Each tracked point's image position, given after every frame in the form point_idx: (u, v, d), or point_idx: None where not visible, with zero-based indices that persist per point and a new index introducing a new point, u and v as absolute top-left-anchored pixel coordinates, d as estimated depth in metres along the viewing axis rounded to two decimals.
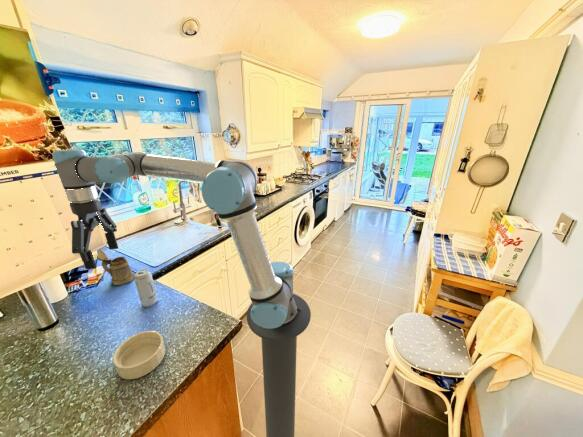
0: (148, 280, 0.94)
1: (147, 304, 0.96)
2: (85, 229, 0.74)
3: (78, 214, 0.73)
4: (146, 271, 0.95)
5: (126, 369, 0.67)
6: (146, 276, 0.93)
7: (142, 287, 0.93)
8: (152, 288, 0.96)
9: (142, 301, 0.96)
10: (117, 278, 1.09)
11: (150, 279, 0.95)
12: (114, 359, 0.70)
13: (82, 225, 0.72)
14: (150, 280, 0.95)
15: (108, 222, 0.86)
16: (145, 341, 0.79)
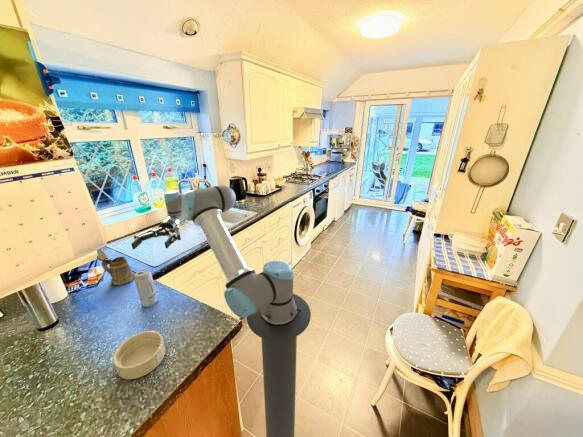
0: (148, 280, 0.94)
1: (147, 304, 0.96)
2: None
3: None
4: (146, 271, 0.95)
5: (126, 369, 0.67)
6: (146, 276, 0.93)
7: (142, 287, 0.93)
8: (152, 288, 0.96)
9: (142, 301, 0.96)
10: (117, 278, 1.09)
11: (150, 279, 0.95)
12: (114, 359, 0.70)
13: (150, 229, 1.13)
14: (150, 280, 0.95)
15: (176, 234, 1.10)
16: (145, 341, 0.79)
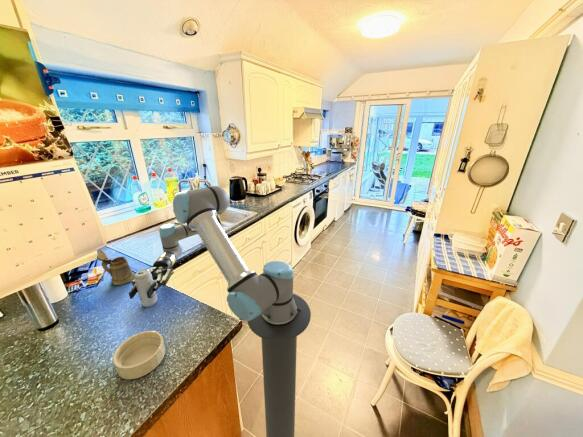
0: (148, 280, 0.94)
1: (147, 304, 0.96)
2: None
3: None
4: (146, 271, 0.95)
5: (126, 369, 0.67)
6: (146, 276, 0.93)
7: (142, 287, 0.93)
8: None
9: (142, 301, 0.96)
10: (117, 278, 1.09)
11: (150, 279, 0.95)
12: (114, 359, 0.70)
13: None
14: (150, 280, 0.95)
15: None
16: (145, 341, 0.79)
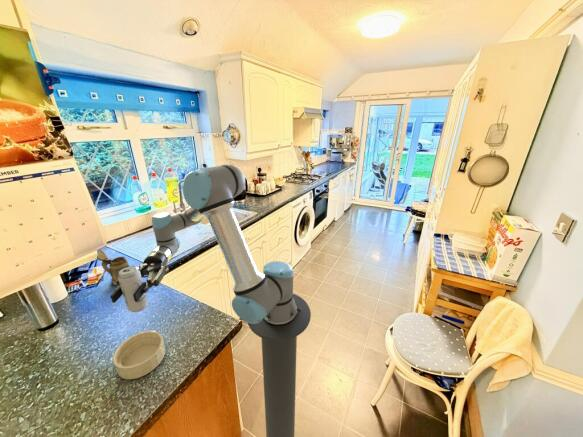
0: (135, 279, 0.75)
1: (135, 309, 0.78)
2: None
3: None
4: (133, 268, 0.76)
5: (126, 369, 0.67)
6: (133, 274, 0.74)
7: (128, 289, 0.74)
8: None
9: (128, 305, 0.77)
10: (117, 278, 1.09)
11: (138, 278, 0.76)
12: (114, 359, 0.70)
13: None
14: (138, 279, 0.76)
15: None
16: (145, 341, 0.79)
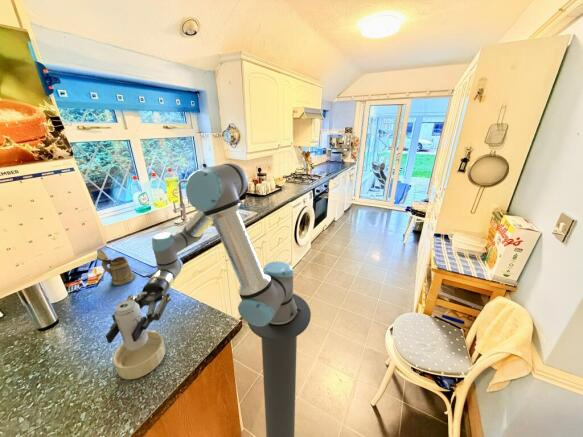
0: (134, 316, 0.67)
1: (133, 348, 0.69)
2: None
3: None
4: (132, 302, 0.68)
5: (126, 369, 0.67)
6: (131, 310, 0.66)
7: (126, 326, 0.66)
8: None
9: (126, 344, 0.69)
10: (117, 278, 1.09)
11: (137, 314, 0.68)
12: (114, 359, 0.70)
13: (130, 297, 0.78)
14: (137, 315, 0.68)
15: None
16: None
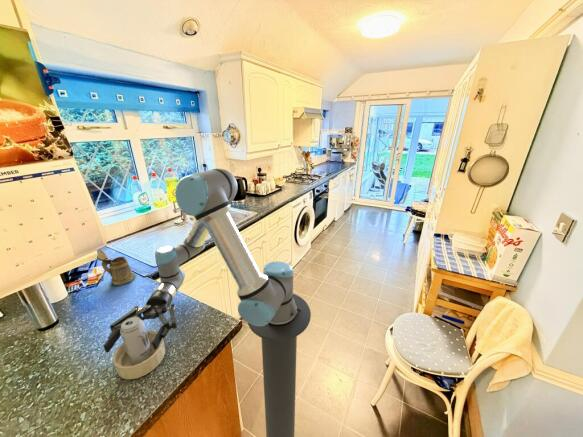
0: (139, 332, 0.69)
1: (138, 363, 0.72)
2: None
3: None
4: (136, 319, 0.70)
5: (126, 369, 0.67)
6: (136, 328, 0.69)
7: (131, 343, 0.69)
8: (145, 341, 0.72)
9: (131, 359, 0.71)
10: (117, 278, 1.09)
11: (142, 330, 0.70)
12: (114, 359, 0.70)
13: (134, 308, 0.82)
14: (142, 332, 0.70)
15: None
16: None
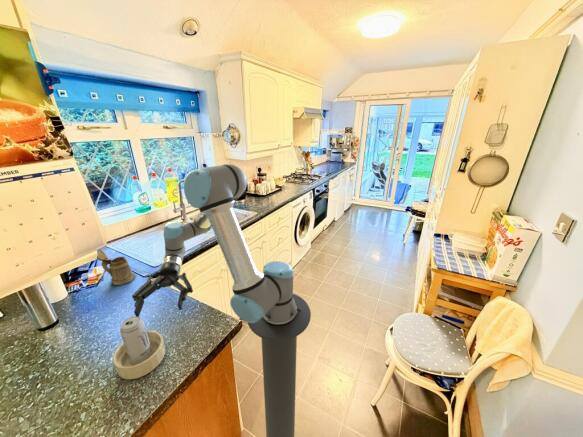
0: (139, 332, 0.69)
1: (138, 363, 0.72)
2: None
3: None
4: (136, 319, 0.70)
5: (126, 369, 0.67)
6: (136, 328, 0.69)
7: (131, 343, 0.69)
8: (145, 341, 0.72)
9: (131, 359, 0.71)
10: (117, 278, 1.09)
11: (142, 330, 0.70)
12: (114, 359, 0.70)
13: (149, 280, 0.91)
14: (142, 332, 0.70)
15: (185, 284, 0.91)
16: None
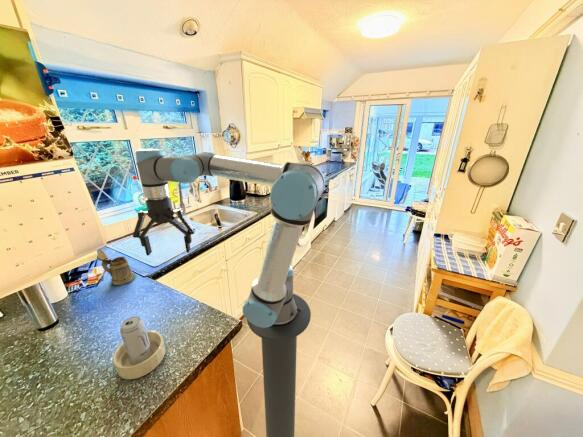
0: (139, 332, 0.69)
1: (138, 363, 0.72)
2: None
3: None
4: (136, 319, 0.70)
5: (126, 369, 0.67)
6: (136, 328, 0.69)
7: (131, 343, 0.69)
8: (145, 341, 0.72)
9: (131, 359, 0.71)
10: (117, 278, 1.09)
11: (142, 330, 0.70)
12: (114, 359, 0.70)
13: (140, 216, 0.79)
14: (142, 332, 0.70)
15: None
16: None
